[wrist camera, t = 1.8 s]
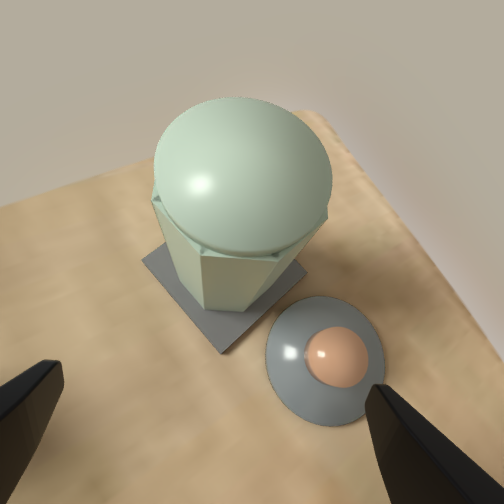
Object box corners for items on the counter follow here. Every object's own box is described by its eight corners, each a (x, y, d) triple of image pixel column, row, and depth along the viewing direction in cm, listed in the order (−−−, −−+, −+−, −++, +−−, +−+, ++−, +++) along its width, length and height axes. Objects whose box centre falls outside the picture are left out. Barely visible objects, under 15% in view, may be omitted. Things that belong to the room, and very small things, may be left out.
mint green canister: (288, 271, 24) (368, 180, 12) (222, 330, 22) (239, 293, 10) (231, 210, 25) (251, 71, 13) (162, 261, 23) (112, 150, 11)
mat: (305, 274, 25) (307, 272, 24) (220, 354, 22) (220, 354, 21) (231, 196, 26) (232, 193, 26) (142, 261, 23) (141, 259, 23)
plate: (402, 360, 23) (407, 360, 23) (328, 455, 21) (331, 458, 20) (320, 275, 25) (323, 273, 24) (240, 353, 22) (240, 352, 21)
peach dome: (361, 358, 22) (379, 357, 20) (328, 397, 21) (343, 401, 19) (325, 319, 23) (338, 314, 21) (291, 355, 22) (301, 354, 20)
